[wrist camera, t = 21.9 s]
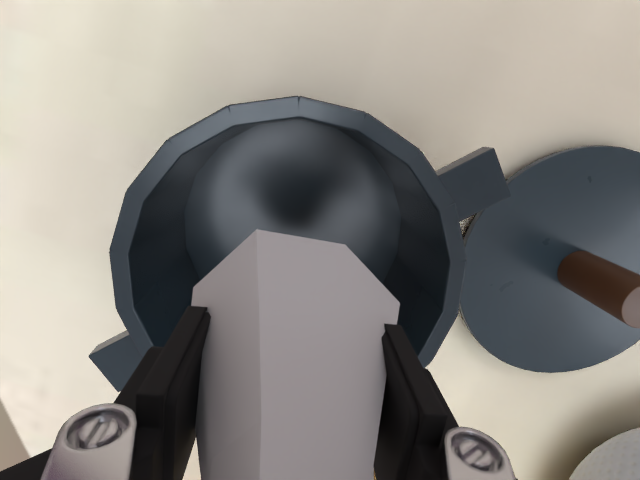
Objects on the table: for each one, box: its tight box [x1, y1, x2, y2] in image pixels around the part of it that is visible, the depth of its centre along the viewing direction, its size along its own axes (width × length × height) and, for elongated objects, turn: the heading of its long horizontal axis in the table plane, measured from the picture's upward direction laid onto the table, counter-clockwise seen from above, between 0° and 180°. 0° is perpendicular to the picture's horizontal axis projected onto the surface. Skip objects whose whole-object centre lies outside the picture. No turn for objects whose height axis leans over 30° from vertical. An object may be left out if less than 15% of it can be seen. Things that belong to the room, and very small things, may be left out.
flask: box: [191, 229, 400, 480], centre depth 9 cm, size 7×7×10 cm
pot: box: [89, 96, 511, 392], centre depth 21 cm, size 16×21×9 cm
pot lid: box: [459, 146, 640, 373], centre depth 24 cm, size 17×17×7 cm
